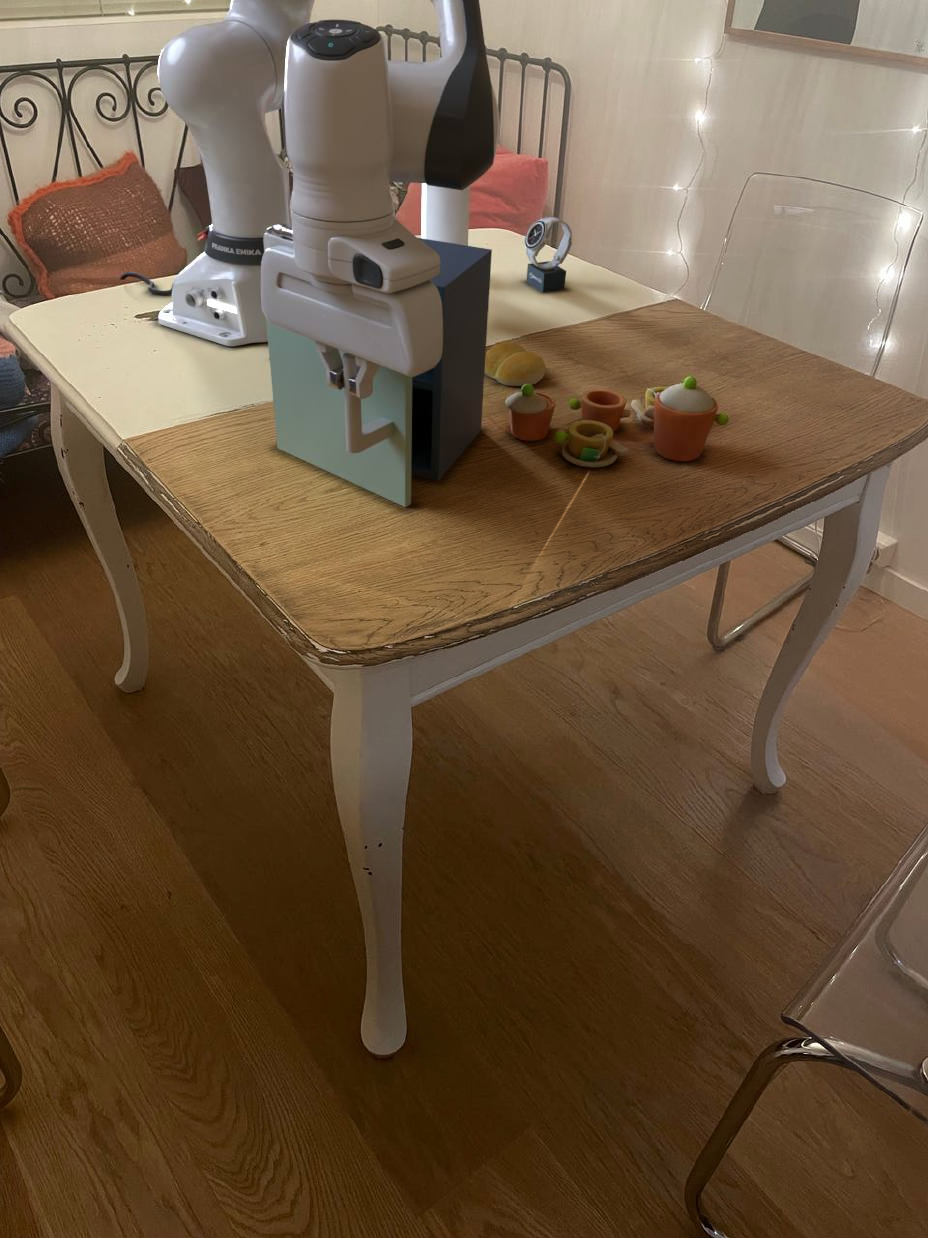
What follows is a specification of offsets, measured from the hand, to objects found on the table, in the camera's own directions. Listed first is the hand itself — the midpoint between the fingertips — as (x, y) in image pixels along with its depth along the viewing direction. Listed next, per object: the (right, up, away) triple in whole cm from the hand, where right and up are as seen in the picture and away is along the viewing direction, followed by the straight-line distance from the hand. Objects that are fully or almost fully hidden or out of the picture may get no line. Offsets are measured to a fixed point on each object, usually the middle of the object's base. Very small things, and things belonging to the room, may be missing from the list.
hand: (350, 390), depth 91 cm
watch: (+25, +35, +71) cm, 83 cm away
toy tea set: (+29, 0, +26) cm, 39 cm away
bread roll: (+18, +12, +41) cm, 46 cm away
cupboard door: (-5, -7, +14) cm, 17 cm away
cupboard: (+1, 0, +24) cm, 24 cm away
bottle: (+7, +35, +70) cm, 79 cm away
